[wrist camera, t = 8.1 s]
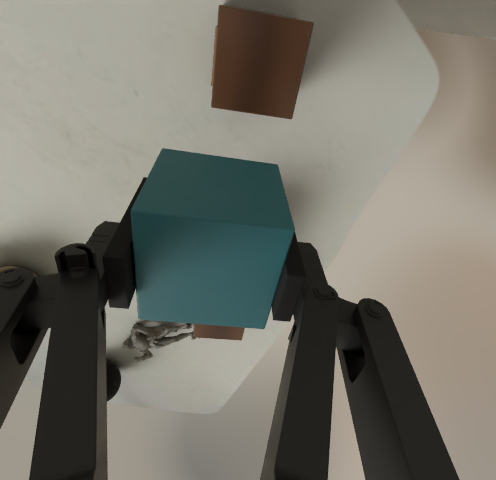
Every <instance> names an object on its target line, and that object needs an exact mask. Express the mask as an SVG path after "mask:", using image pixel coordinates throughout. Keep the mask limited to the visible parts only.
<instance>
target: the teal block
mask: <svg viewBox="0 0 496 480" xmlns="http://www.w3.org/2000/svg"><path fill="white" fill-rule="evenodd" d="M131 223H132V237H133V252H134V266H135V280H136V295H137V309H138V319H140V320H153V321H166V322H179V323H192V324H205V325H218V326H231V327H244V328H257V329H264V328H265V326H266V323H267V319H268V316H269V313H270V310H271V306H272V303H273V300H274V296H275V293H276V290H277V286H278V283H279V280H280V277H281V273H282V270H283V267H284V263H285V260H286V257H287V254H288V251H289V247H290V244H291V241H292V237H293V234H294V231H295V228H294V225H293V221H292V217H291V213H290V209H289V206H288V202H287V198H286V194H285V190H284V187H283V183H282V179H281V175H280V171H279V168H278V165H276V164H269V163H262V162H255V161H248V160H241V159H234V158H227V157H220V156H213V155H206V154H199V153H192V152H185V151H178V150H171V149H164V148H163V149H162V150H161V152H160V154H159V156H158V158H157V160H156V162H155V164H154V166H153V168H152V170H151V172H150V174H149V176H148V178H147V179H146V181H145V183H144V185H143V187H142V189H141V191H140V193H139V195H138V197H137V199H136V201H135V203H134V205H133V207H132V209H131Z"/></svg>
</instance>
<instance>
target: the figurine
mask: <svg viewBox="0 0 496 480" xmlns="http://www.w3.org/2000/svg"><path fill="white" fill-rule="evenodd" d="M190 327H191V323H186V324H185V325H183V326H166V325H163V326H159V327H149V328H144V327H143V326H139V325H138V324H134V326H133V327H132V330H131V333H132V336H131V337H130V338H128V339H127V340H125V341H124V343H123V349H126V350H131V349H134V348H136V349H137V350H139V351H141V352H143V354H144V355H143V356H142V357H134V362H138V361H141V360H145V359H148V358H151V357H152V356H153V355H152V353H151V352H150V351H149V350H148V349H149V348H150V347H154V348H161V347H163V346H166V345H169V344H171V343H173V342H176V341H179V340H181V339H183V338H185V337H187V336H191V337H192V338H193V339H196V337H193V335H194V331H193V332H191V333H181V334H179V335H177V336H173V337H165V336H166V335H167V334H168V333H169V332H177V330H178V329H179V328H183V329H185V328H188V329H190ZM151 328H152V331H150V329H151ZM191 328H192V327H191ZM145 334H146V335H145Z"/></svg>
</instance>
